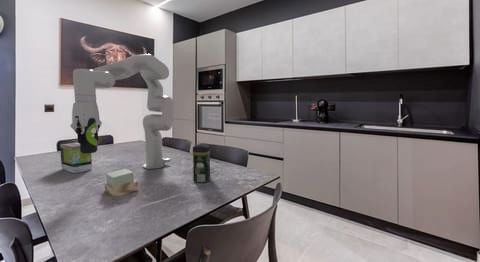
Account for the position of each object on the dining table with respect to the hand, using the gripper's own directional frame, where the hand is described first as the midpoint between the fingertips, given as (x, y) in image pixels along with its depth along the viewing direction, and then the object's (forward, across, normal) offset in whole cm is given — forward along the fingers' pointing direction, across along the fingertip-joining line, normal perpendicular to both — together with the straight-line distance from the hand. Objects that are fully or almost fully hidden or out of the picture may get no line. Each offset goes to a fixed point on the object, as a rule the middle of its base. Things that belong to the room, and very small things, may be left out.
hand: (88, 141), depth 100 cm
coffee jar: (+22, -21, +43) cm, 53 cm away
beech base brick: (+21, 0, +14) cm, 25 cm away
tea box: (+22, -27, -33) cm, 48 cm away
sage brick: (+17, 0, +14) cm, 22 cm away
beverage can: (+5, 0, 0) cm, 5 cm away
